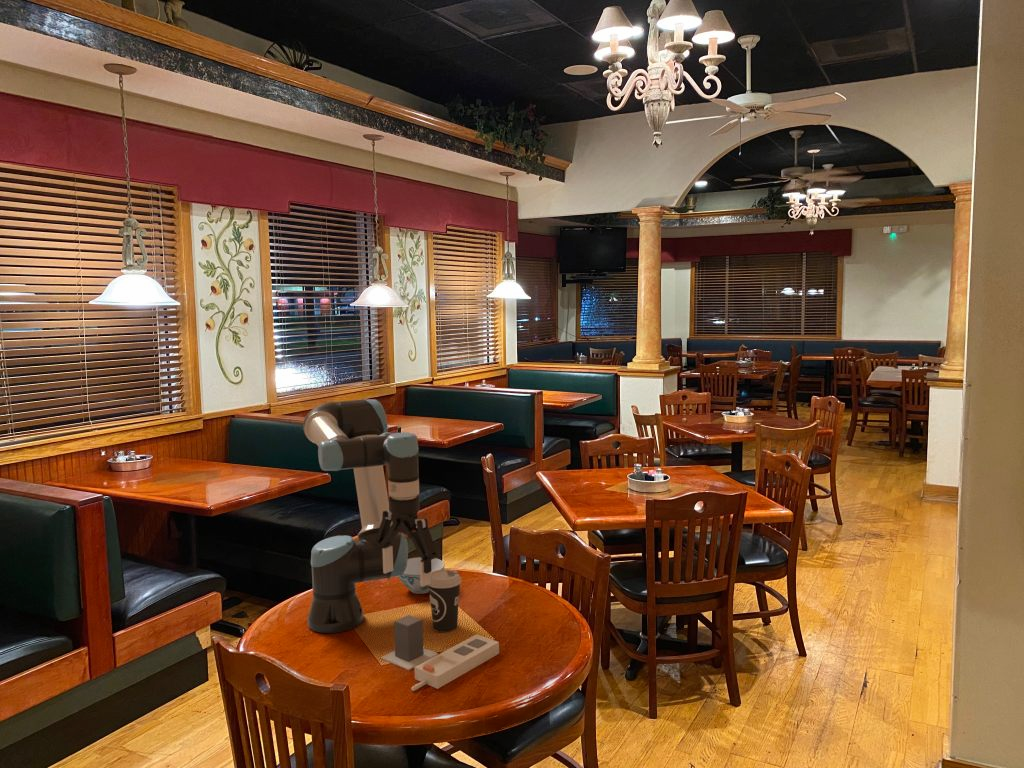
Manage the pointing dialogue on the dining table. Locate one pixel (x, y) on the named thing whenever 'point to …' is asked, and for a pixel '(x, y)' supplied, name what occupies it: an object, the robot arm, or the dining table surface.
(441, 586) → the coffee cup
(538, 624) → the dining table surface
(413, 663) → the pad
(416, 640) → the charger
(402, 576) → the chinaware
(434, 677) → the power strip
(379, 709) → the dining table surface
